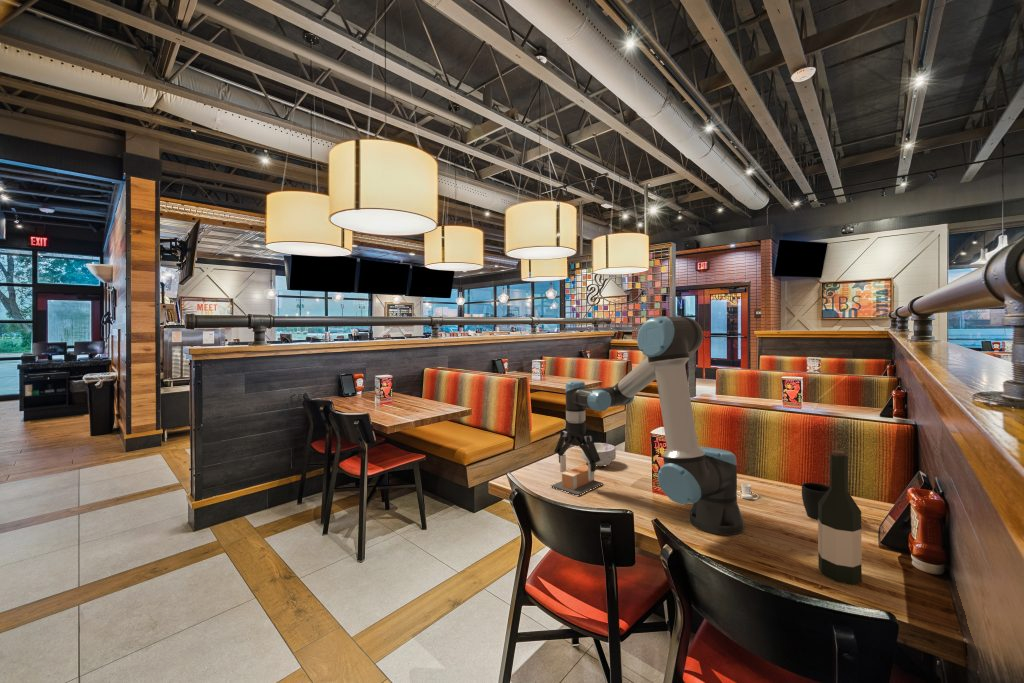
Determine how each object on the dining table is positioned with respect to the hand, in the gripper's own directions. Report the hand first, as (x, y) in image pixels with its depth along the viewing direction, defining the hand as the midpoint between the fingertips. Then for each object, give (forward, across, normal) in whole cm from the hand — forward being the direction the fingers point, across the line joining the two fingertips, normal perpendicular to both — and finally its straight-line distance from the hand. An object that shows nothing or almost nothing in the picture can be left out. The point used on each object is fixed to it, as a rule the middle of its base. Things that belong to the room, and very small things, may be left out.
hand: (576, 475), depth 164 cm
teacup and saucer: (+5, -48, -32) cm, 58 cm away
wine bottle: (+4, -82, +4) cm, 82 cm away
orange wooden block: (+1, 0, -8) cm, 8 cm away
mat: (+4, 0, 0) cm, 4 cm away
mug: (+4, -74, -30) cm, 79 cm away
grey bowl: (+4, +10, -28) cm, 30 cm away
